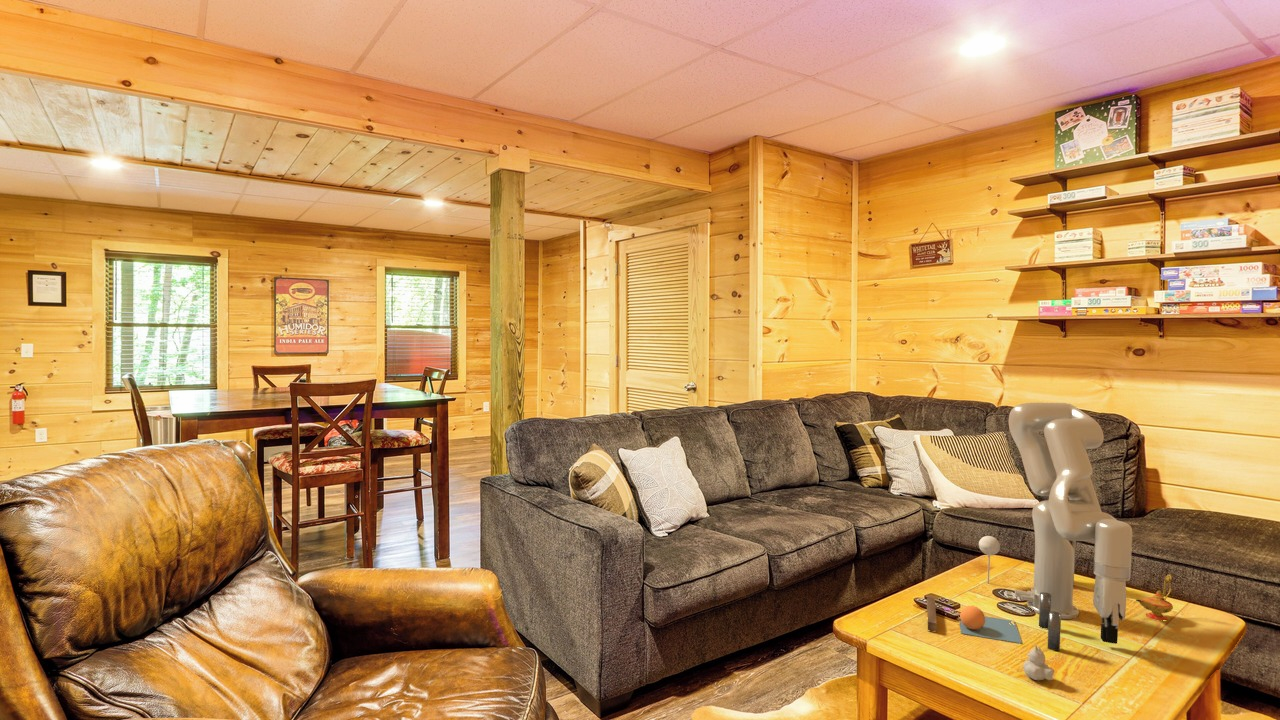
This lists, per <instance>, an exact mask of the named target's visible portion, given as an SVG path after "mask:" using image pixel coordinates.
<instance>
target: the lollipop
mask: <svg viewBox="0 0 1280 720" xmlns="http://www.w3.org/2000/svg"><path fill="white" fill-rule="evenodd" d="M978 547H979V550H980V551H981V552H982V553H983V554H985V555H986V556H987V577H986V578H987V579H986V581H987V584H990V561H991V560H990V559H991V558H990V557H991V556H994V555H996V554H998V553H999V552H1000V548H1001V545H1000V542H999V540H998V539H997V538H995V537H994V536H991V535H985V536H983V537H981V538H980V540H979V541H978Z"/></svg>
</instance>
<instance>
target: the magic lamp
mask: <svg viewBox="0 0 1280 720" xmlns="http://www.w3.org/2000/svg"><path fill="white" fill-rule="evenodd" d="M1172 578H1173V577H1172V575H1171V574H1168V575H1166V576H1165V577H1164V580H1163V581H1164V582H1163V583H1164V584H1163V593H1162V591H1161V590H1157V591H1156V593H1155V594H1154V595H1153V596H1152V597H1151V596H1149V597H1143V598H1142V599H1137V598H1136V599H1135V601H1136V602H1138V603H1139V604H1140V605H1141V606H1142V607H1143V608H1145V609H1146V610H1148V611H1151V612H1148V613H1147V612H1146V613H1145V614H1144V615H1145V617H1147V618H1148V619H1150V618H1151V620H1153V619H1154V621H1157V620H1159V621H1158V622H1164V621H1163V620H1167V619H1168V617H1166V616H1165V615H1164V614H1167V613H1169V612H1171V611H1172V610H1173V609H1174V605H1173V604H1172V603H1171V602H1170V601H1167V600H1166V599H1168V596H1170V593H1171V591H1172V585H1171V582H1170V581H1171V580H1172ZM1167 583H1168V586H1169V590H1168V593H1167V594H1166V592H1167ZM1161 620H1162V621H1161Z"/></svg>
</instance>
